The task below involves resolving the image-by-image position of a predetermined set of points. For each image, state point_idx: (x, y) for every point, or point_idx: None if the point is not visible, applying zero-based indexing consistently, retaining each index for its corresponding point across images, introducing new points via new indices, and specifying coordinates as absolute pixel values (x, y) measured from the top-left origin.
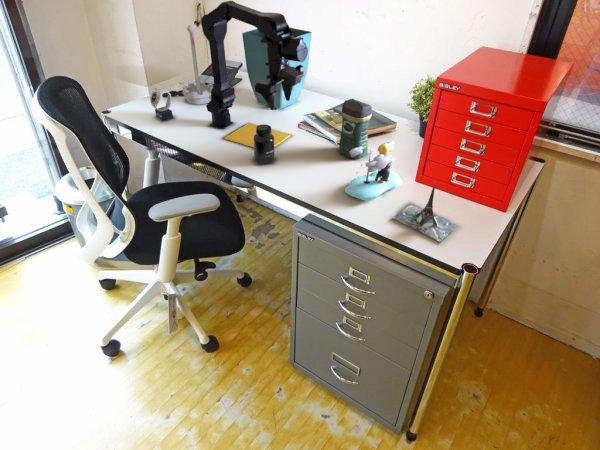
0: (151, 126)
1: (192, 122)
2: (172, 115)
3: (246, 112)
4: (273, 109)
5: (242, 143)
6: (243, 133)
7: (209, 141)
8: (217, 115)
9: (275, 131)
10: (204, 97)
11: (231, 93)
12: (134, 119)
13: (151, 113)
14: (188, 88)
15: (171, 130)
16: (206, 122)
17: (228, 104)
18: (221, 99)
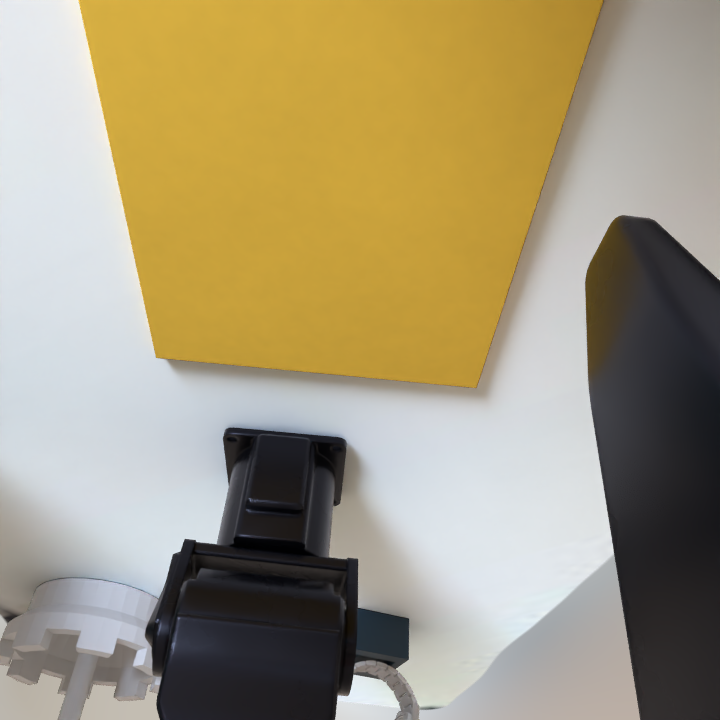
0: (480, 626)
1: (351, 554)
2: (358, 623)
3: (17, 426)
4: (658, 228)
5: (520, 250)
6: (341, 317)
7: (550, 429)
8: (327, 540)
9: (116, 96)
10: (117, 620)
11: (210, 675)
12: (445, 666)
13: None
14: (105, 676)
15: (486, 578)
16: None
17: (262, 587)
18: (336, 669)
